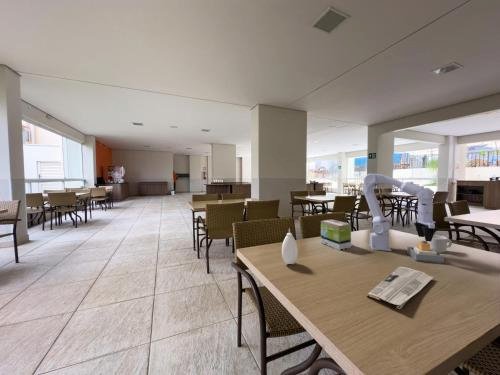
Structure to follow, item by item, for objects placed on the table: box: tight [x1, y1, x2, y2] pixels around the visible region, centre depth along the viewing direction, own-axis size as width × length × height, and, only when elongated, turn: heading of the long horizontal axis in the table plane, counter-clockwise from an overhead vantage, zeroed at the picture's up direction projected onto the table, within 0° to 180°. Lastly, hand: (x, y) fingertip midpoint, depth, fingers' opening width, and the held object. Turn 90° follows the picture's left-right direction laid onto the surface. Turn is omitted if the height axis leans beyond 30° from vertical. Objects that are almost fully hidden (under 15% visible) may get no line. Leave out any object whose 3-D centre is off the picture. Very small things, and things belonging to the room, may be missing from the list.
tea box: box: [320, 218, 352, 251], centre depth 128 cm, size 15×10×15 cm, turn 25°
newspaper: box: [366, 266, 434, 310], centre depth 79 cm, size 35×12×4 cm, turn 129°
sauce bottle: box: [281, 228, 299, 265], centre depth 102 cm, size 8×8×18 cm
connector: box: [417, 240, 430, 251], centre depth 106 cm, size 4×4×8 cm
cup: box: [428, 234, 453, 254], centre depth 114 cm, size 11×8×8 cm
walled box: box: [406, 246, 445, 264], centre depth 106 cm, size 11×11×4 cm
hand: (424, 238), depth 105 cm, fingers open, 7 cm apart
